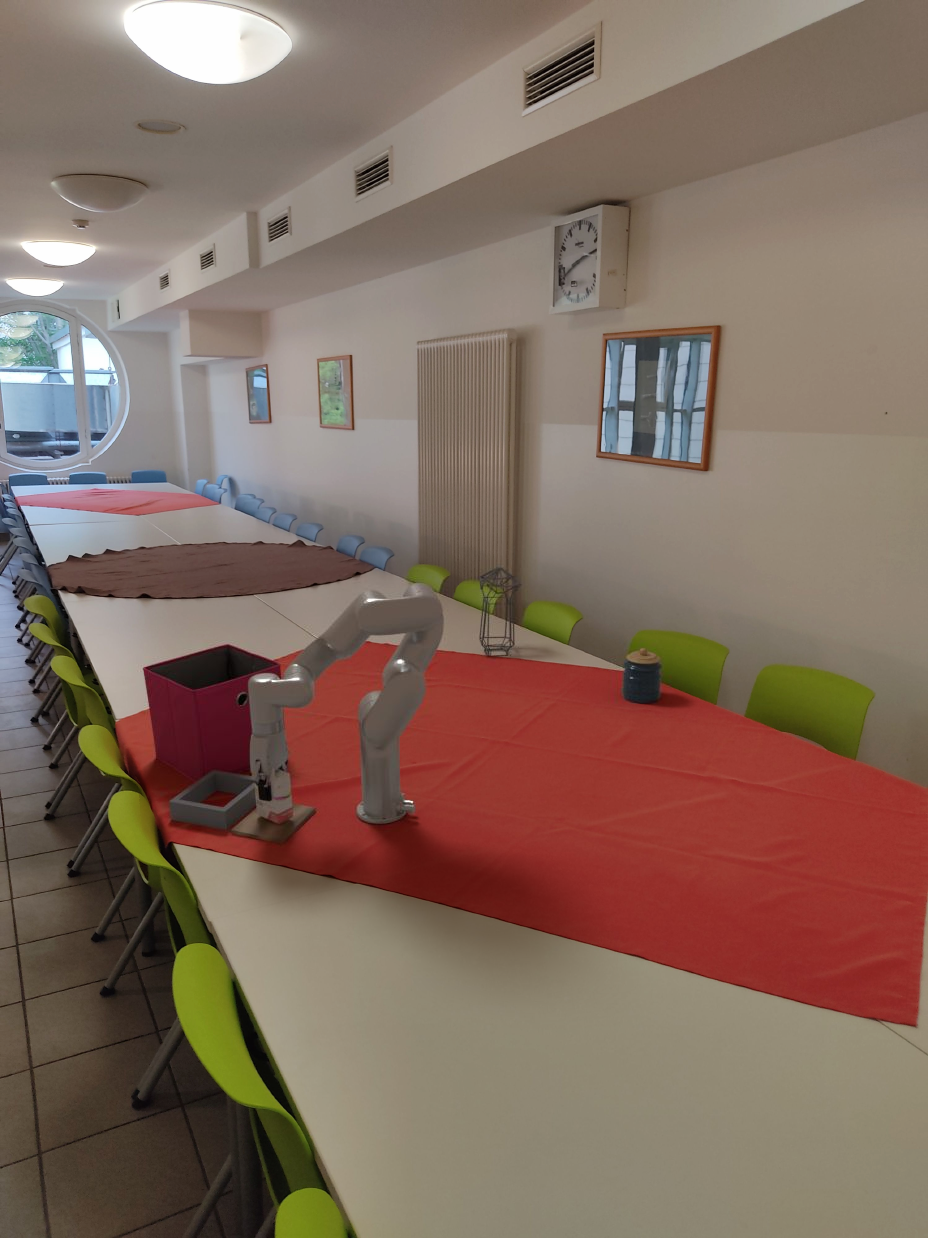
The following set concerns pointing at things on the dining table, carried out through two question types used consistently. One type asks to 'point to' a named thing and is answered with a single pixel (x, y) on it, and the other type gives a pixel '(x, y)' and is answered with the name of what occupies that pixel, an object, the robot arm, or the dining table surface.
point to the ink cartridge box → (276, 798)
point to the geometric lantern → (492, 573)
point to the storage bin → (204, 709)
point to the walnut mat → (273, 825)
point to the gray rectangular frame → (194, 812)
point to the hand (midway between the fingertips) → (273, 792)
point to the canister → (642, 677)
